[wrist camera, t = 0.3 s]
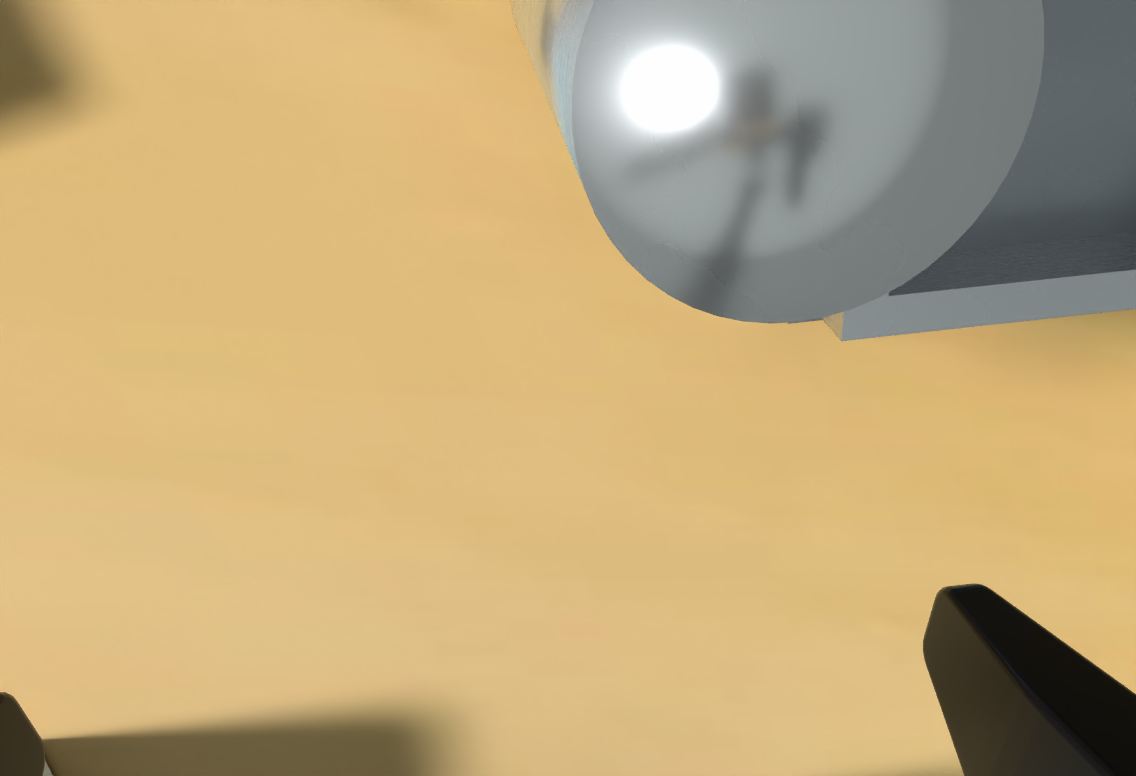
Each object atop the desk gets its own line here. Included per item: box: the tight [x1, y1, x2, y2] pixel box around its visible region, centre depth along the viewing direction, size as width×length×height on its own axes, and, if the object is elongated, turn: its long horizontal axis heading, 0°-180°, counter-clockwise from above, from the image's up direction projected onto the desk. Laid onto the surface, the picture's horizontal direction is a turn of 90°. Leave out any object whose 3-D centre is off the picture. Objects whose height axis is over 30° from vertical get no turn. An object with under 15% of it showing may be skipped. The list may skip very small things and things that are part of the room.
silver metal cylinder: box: [511, 0, 1044, 323], centre depth 14 cm, size 4×4×12 cm
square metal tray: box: [787, 0, 1136, 341], centre depth 19 cm, size 12×12×3 cm
